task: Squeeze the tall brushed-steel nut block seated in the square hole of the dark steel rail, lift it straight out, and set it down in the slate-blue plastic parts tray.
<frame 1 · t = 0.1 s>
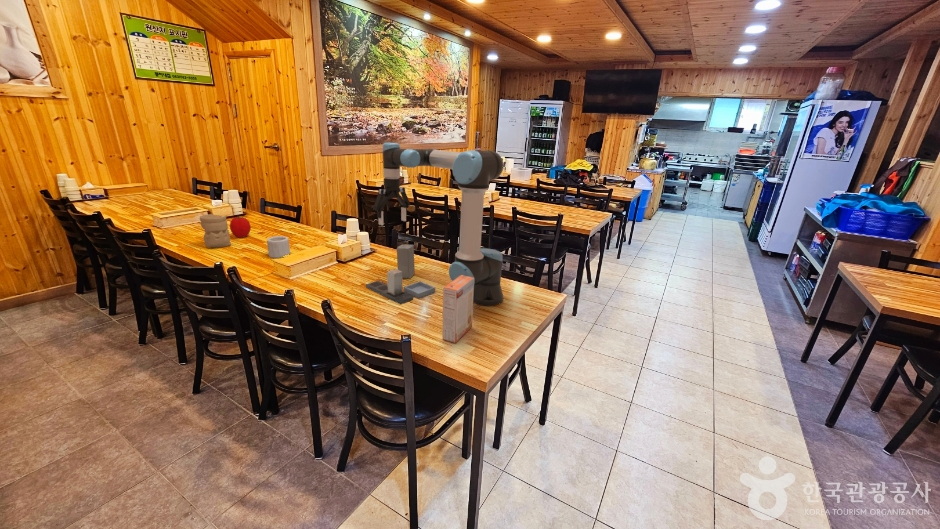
hand: (392, 222, 178), 28 cm above the table, fingers open, 13 cm apart
parts tray: (419, 292, 171), on the table
container: (218, 246, 218), on the table
nut block: (395, 296, 166), resting in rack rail
red apple: (241, 237, 238), on the table
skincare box: (406, 275, 190), on the table
cracker box: (457, 333, 139), on the table
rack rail: (388, 293, 168), on the table
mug: (278, 255, 209), on the table
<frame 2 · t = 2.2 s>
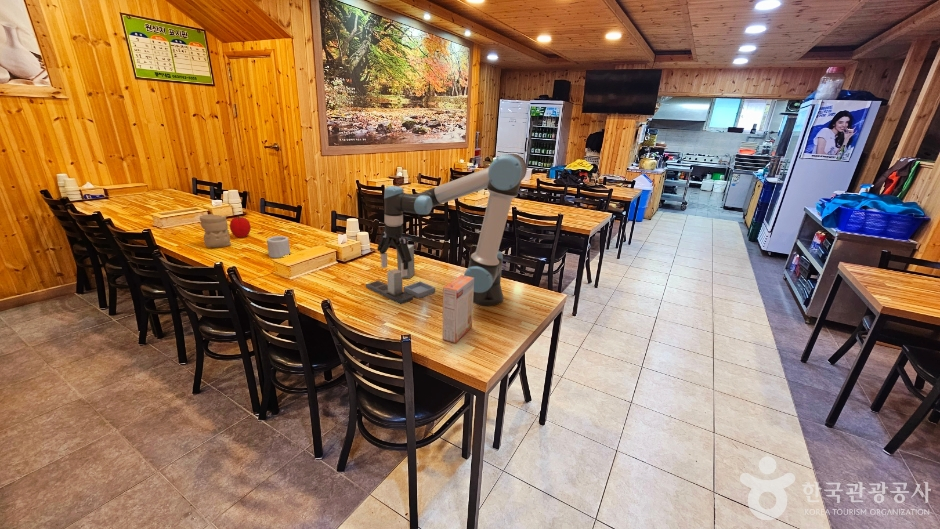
hand: (394, 271, 162), 12 cm above the table, fingers open, 13 cm apart
nothing on the table moved.
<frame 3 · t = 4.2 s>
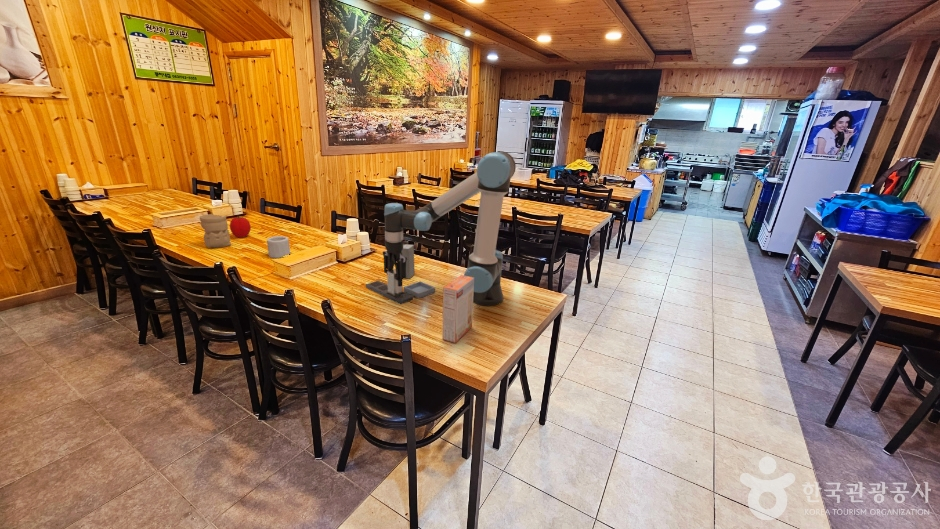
hand: (395, 290, 165), 3 cm above the table, fingers closed on nut block, 5 cm apart
nut block: (395, 296, 166), resting in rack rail, touching gripper
everything else where it was.
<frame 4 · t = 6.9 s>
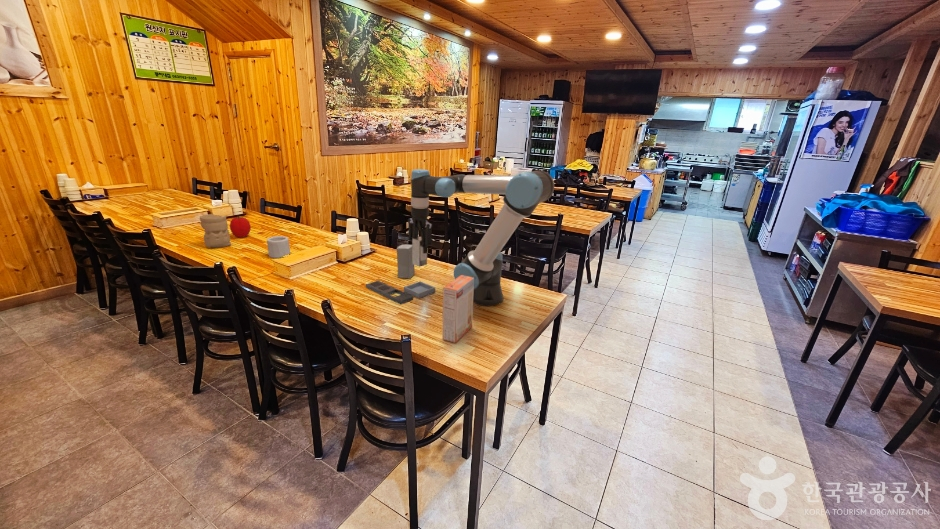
hand: (419, 258, 166), 17 cm above the table, fingers closed on nut block, 5 cm apart
nut block: (419, 264, 167), point 14 cm above the table, touching gripper
everything else where it was.
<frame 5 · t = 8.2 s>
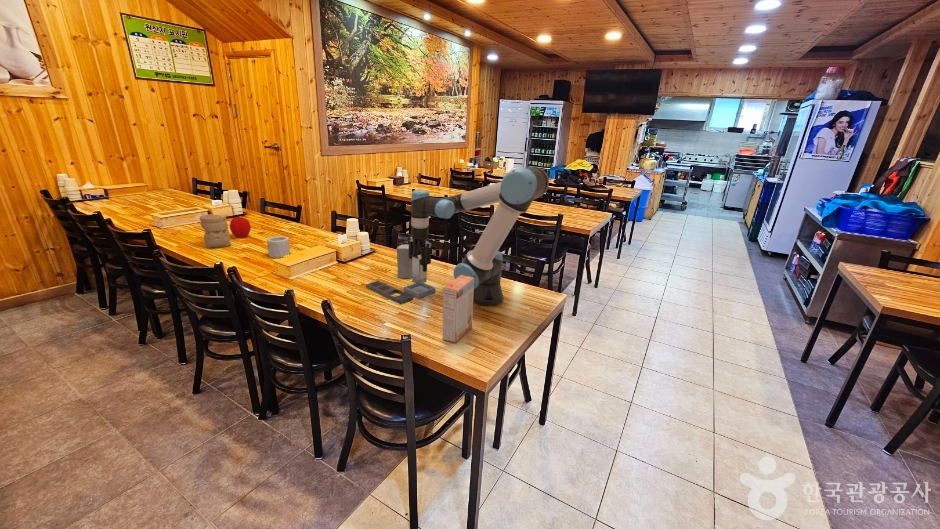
hand: (419, 275, 169), 8 cm above the table, fingers closed on nut block, 5 cm apart
nut block: (419, 281, 170), point 5 cm above the table, touching gripper
everything else where it was.
when the fingers open (5 cm above the table, at t = 9.6 s): nut block drops 1 cm, resting on parts tray.
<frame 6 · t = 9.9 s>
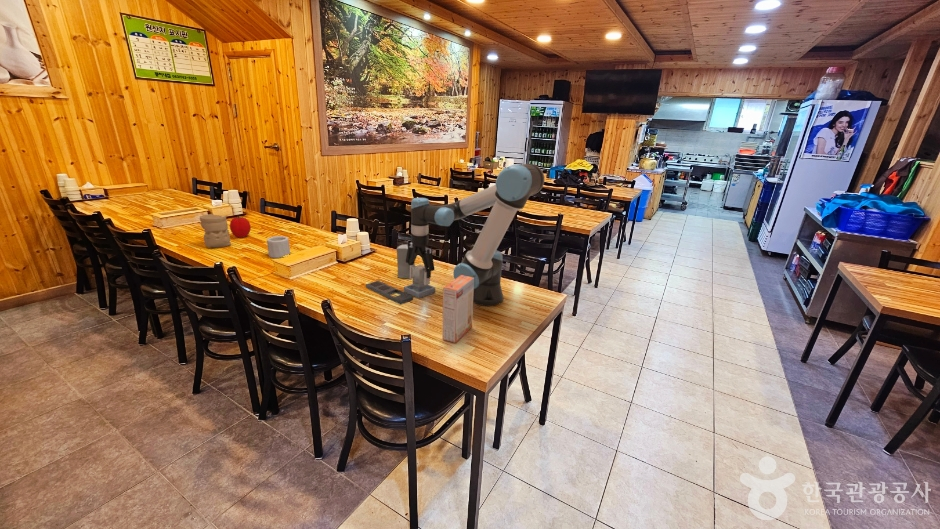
hand: (419, 281, 170), 6 cm above the table, fingers open, 9 cm apart
nut block: (419, 291, 171), resting on parts tray
everything else where it was.
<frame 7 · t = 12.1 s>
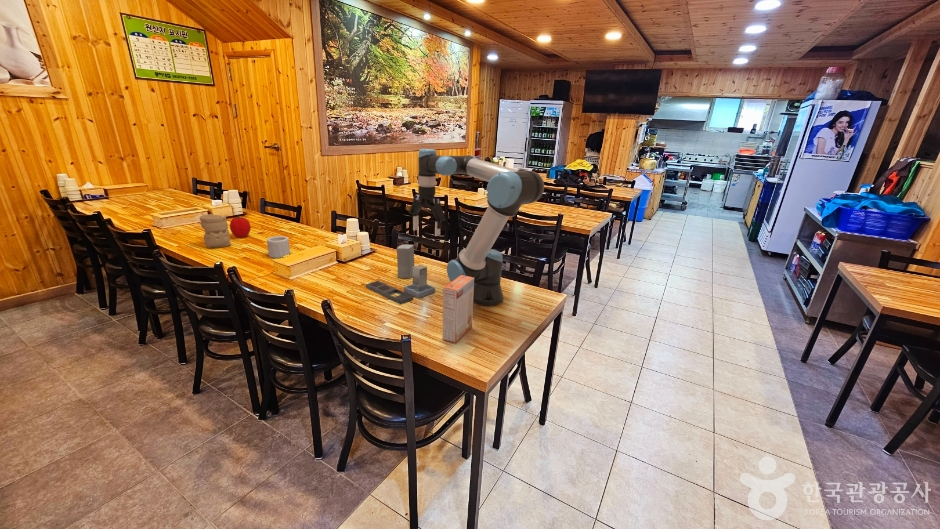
hand: (426, 232, 170), 27 cm above the table, fingers open, 13 cm apart
nothing on the table moved.
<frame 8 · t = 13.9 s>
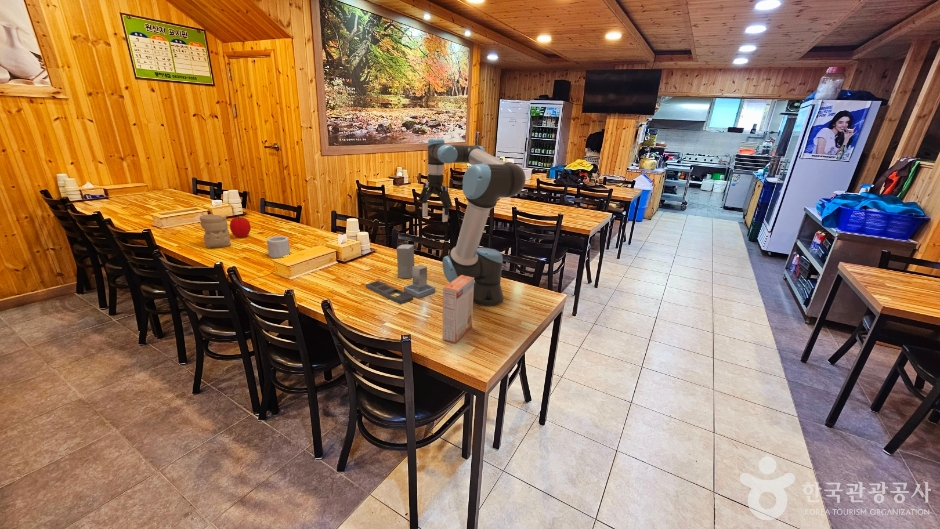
hand: (434, 218, 178), 31 cm above the table, fingers open, 13 cm apart
nothing on the table moved.
at the end: nut block inside the target area on the parts tray (0.0 cm from its centre), point 0.5 cm above the parts tray's base; nut block touching parts tray; the gripper is holding nothing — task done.
